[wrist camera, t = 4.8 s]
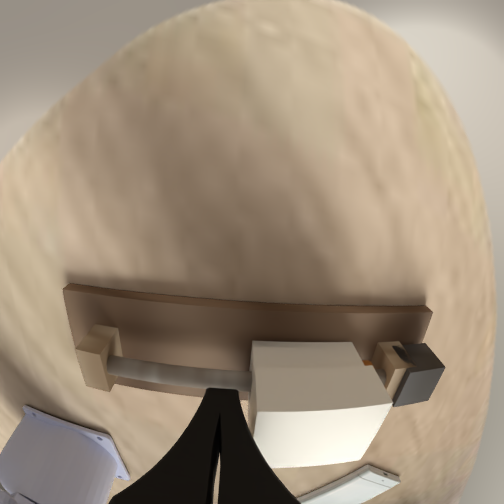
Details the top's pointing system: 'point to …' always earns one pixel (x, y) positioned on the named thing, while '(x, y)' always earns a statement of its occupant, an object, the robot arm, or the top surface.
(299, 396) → the white rounded cube
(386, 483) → the hard drive
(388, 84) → the top surface
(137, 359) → the cord rail
